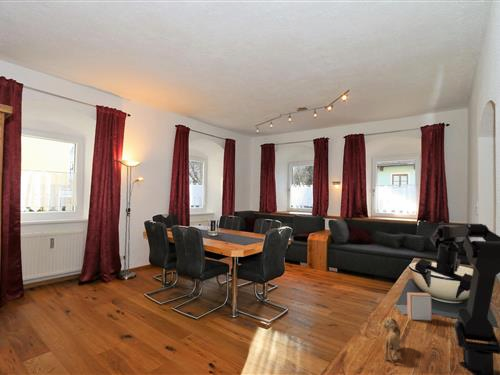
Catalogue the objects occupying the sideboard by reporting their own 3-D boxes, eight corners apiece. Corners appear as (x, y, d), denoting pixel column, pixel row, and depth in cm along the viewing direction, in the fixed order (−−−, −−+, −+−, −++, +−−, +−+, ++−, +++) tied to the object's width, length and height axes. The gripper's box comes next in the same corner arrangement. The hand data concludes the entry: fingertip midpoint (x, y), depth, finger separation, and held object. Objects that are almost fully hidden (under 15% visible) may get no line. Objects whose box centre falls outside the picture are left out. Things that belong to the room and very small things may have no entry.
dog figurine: (382, 340, 97) (382, 314, 97) (399, 343, 95) (399, 316, 95) (384, 363, 84) (383, 333, 84) (404, 367, 81) (403, 336, 82)
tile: (432, 321, 112) (431, 295, 112) (411, 320, 112) (410, 295, 113) (427, 317, 115) (427, 293, 115) (407, 316, 116) (407, 292, 116)
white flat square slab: (428, 315, 116) (428, 314, 116) (403, 314, 117) (403, 313, 117) (416, 306, 126) (416, 305, 126) (393, 305, 127) (393, 304, 127)
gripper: (485, 257, 99) (479, 293, 104) (427, 240, 113) (424, 273, 118) (476, 270, 93) (469, 309, 97) (415, 251, 107) (412, 285, 111)
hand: (442, 292), depth 106 cm, fingers open, 9 cm apart
